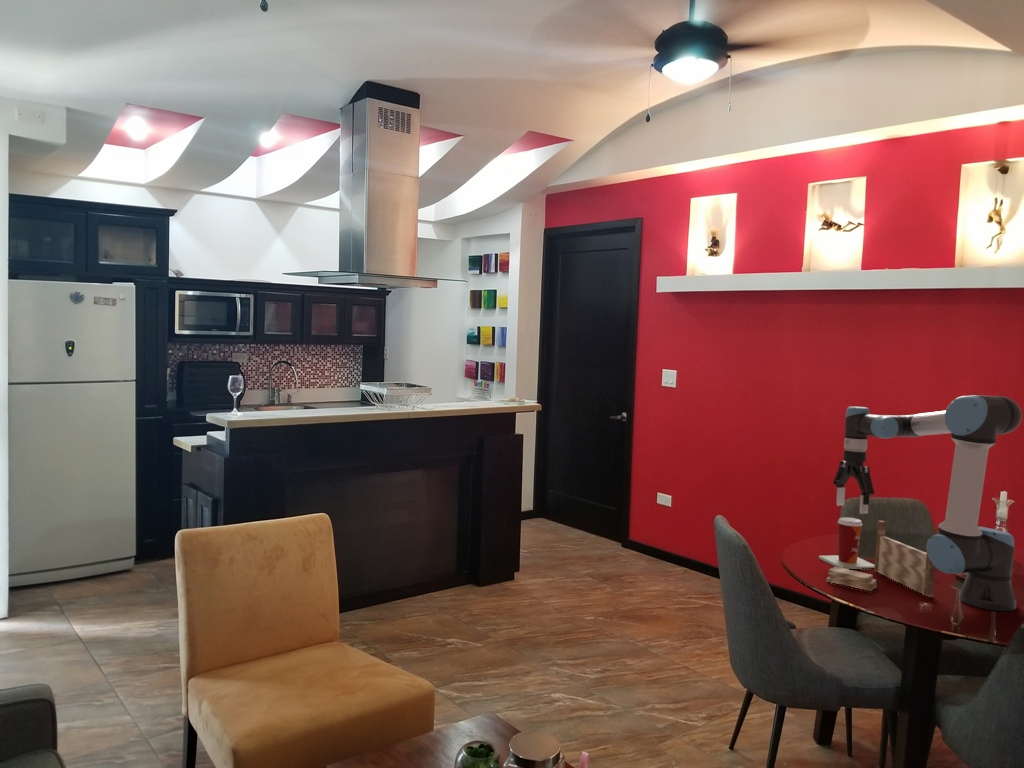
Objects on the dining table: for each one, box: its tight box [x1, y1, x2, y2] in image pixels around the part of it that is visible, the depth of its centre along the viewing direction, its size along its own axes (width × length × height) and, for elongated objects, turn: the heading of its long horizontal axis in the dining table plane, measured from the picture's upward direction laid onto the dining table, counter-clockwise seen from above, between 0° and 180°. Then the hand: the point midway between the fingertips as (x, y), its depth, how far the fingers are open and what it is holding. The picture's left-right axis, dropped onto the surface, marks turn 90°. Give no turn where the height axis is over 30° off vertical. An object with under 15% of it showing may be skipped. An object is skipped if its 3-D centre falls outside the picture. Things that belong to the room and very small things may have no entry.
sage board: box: [818, 554, 875, 570], centre depth 283 cm, size 14×14×1 cm
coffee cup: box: [837, 516, 863, 563], centre depth 283 cm, size 8×8×15 cm
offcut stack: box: [825, 566, 877, 592], centre depth 258 cm, size 14×7×4 cm, turn 49°
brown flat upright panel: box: [873, 520, 936, 598], centre depth 261 cm, size 26×2×18 cm, turn 11°
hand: (851, 509), depth 282 cm, fingers open, 13 cm apart
